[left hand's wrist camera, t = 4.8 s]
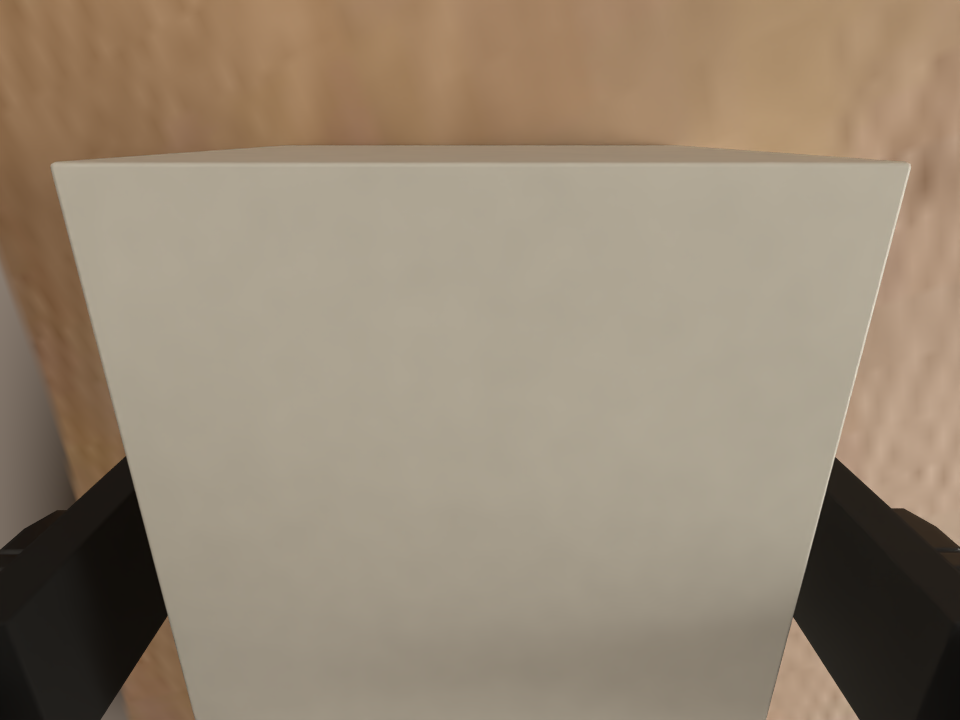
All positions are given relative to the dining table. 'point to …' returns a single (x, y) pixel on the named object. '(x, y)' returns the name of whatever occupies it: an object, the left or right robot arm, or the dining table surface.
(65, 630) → the left robot arm
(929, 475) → the dining table surface
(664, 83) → the dining table surface
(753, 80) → the dining table surface
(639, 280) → the wide beam
